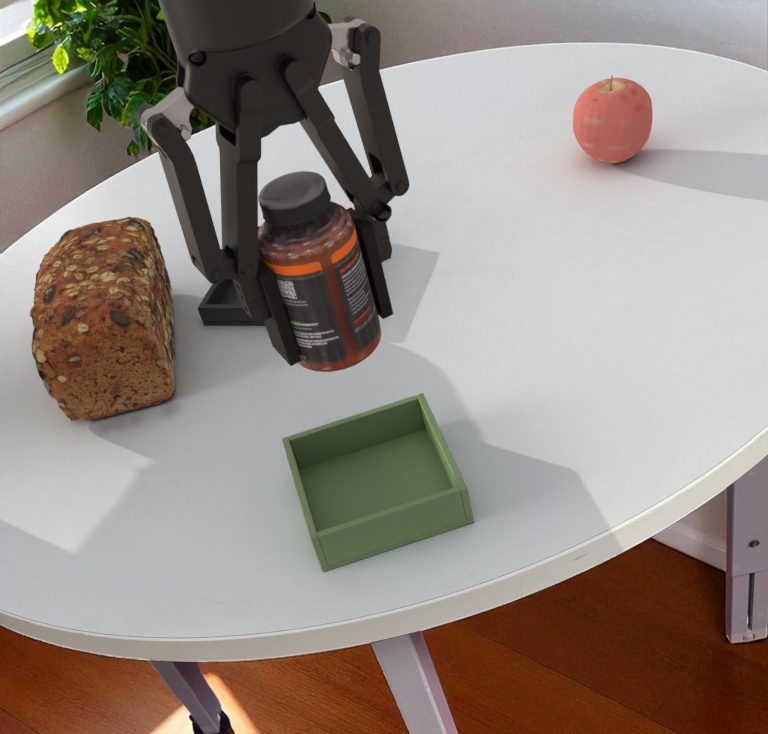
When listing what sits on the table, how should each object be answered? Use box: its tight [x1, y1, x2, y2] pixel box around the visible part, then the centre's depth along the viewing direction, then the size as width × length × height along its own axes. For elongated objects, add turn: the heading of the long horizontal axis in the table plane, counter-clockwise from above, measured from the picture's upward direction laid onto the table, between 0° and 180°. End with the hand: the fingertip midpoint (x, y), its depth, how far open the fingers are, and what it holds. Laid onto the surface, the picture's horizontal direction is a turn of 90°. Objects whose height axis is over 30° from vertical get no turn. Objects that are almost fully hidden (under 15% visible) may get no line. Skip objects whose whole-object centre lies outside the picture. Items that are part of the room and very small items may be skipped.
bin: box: [281, 392, 475, 573], centre depth 76 cm, size 11×11×3 cm
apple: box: [572, 75, 654, 164], centre depth 101 cm, size 7×7×8 cm
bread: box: [29, 216, 176, 422], centre depth 93 cm, size 19×11×10 cm, turn 9°
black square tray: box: [197, 225, 266, 326], centre depth 99 cm, size 13×13×2 cm
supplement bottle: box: [258, 170, 382, 373], centre depth 64 cm, size 6×6×11 cm
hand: (332, 329), depth 67 cm, fingers closed on supplement bottle, 6 cm apart
